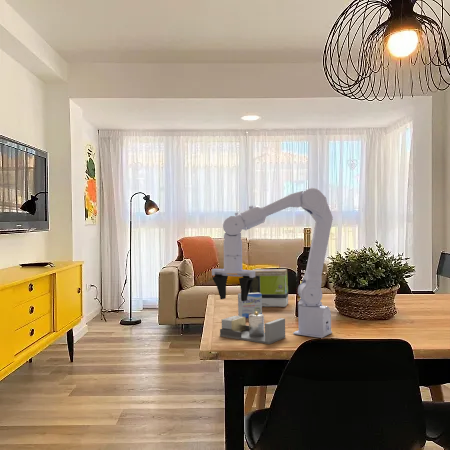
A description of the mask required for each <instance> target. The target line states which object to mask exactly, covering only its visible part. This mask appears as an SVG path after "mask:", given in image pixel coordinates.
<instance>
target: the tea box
mask: <svg viewBox="0 0 450 450" xmlns="http://www.w3.org/2000/svg"><path fill="white" fill-rule="evenodd" d="M252 271H255V277H253V278H254V281H253V282H252V284H251V287H250V289H249V292H248V293H256V292H259V293H261V294H262V307H276V308H278V307H282V308H285V307H287V305H288V304H289V286H288V283H289V282H288V279H289V278H288V269H287V268H278V269H277V268H266V269H265V268H264V269H263V268H262V269H258V268H257V269H256V268H255V269H254V268H253V269H252Z"/></svg>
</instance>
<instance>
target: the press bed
mask: <svg viewBox="0 0 450 450" xmlns="http://www.w3.org/2000/svg"><path fill="white" fill-rule="evenodd" d="M219 337H223V338H228V339H235V340H241V341H248V342H254V343H260V344H267V345H272V344H274V343H276V342H279V341H281V340H283V339H286V318H282V317H279V318H277V319H274V320H272V321H269V322H266V323H265V322H264V336H263V337H251V336H249V324H248V325H246V330H244V331H241V332H239V331H232V330H225V329H222V328H220V329H219Z"/></svg>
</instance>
